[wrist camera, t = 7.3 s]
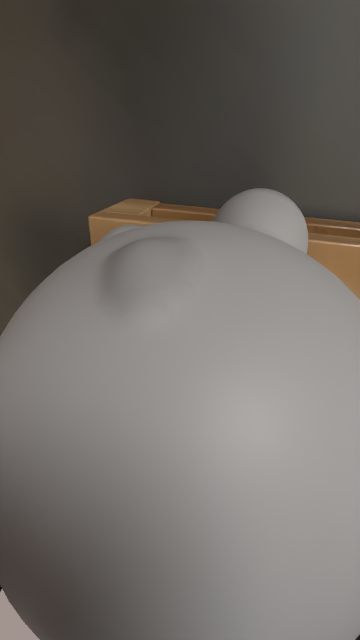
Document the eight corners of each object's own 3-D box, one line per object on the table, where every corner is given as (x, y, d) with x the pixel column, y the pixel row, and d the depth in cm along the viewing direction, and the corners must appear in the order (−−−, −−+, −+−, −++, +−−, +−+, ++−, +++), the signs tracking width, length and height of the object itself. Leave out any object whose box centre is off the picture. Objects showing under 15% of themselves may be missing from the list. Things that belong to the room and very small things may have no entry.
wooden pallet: (453, 408, 15) (515, 482, 12) (134, 353, 17) (108, 403, 14) (597, 242, 10) (772, 288, 7) (128, 197, 12) (86, 215, 9)
